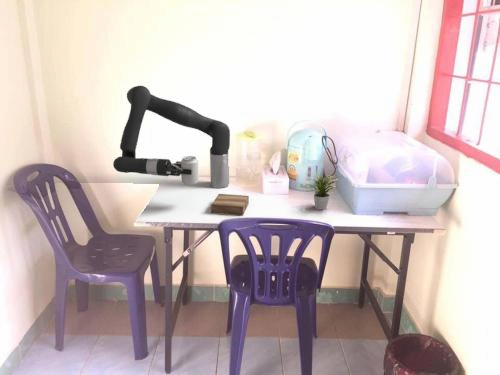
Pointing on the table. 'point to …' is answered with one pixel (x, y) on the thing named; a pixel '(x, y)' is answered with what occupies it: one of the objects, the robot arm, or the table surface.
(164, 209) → the table surface
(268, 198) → the table surface
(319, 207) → the house plant
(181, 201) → the table surface
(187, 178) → the can
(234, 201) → the plinth
